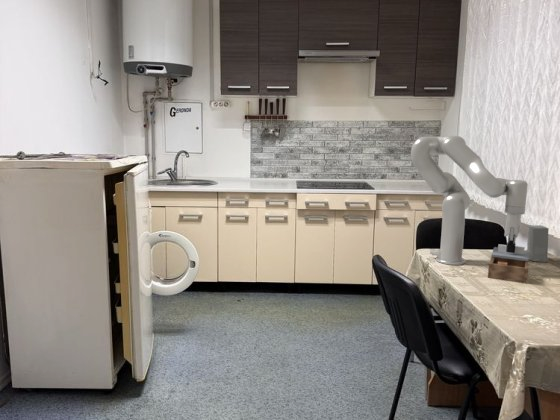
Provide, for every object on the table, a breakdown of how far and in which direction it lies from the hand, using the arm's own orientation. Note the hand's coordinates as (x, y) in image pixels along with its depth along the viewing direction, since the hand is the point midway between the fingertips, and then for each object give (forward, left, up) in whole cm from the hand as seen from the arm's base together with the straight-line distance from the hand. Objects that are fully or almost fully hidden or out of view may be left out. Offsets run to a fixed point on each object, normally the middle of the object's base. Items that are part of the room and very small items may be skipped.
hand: (510, 252), depth 191 cm
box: (0, -8, -8) cm, 12 cm away
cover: (0, +3, -2) cm, 3 cm away
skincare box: (+10, +26, -8) cm, 29 cm away
